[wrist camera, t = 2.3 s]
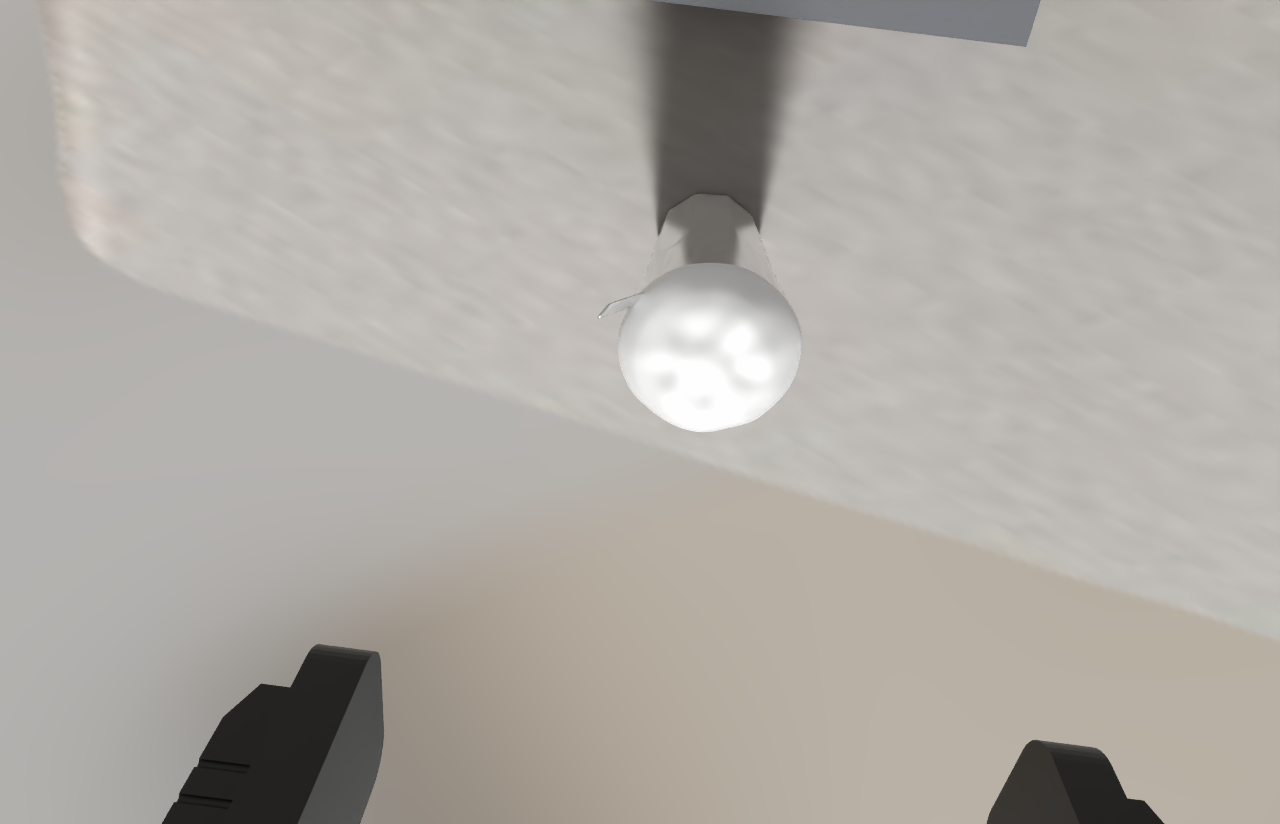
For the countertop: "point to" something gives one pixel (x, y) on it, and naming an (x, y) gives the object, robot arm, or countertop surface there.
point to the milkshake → (708, 321)
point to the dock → (904, 15)
